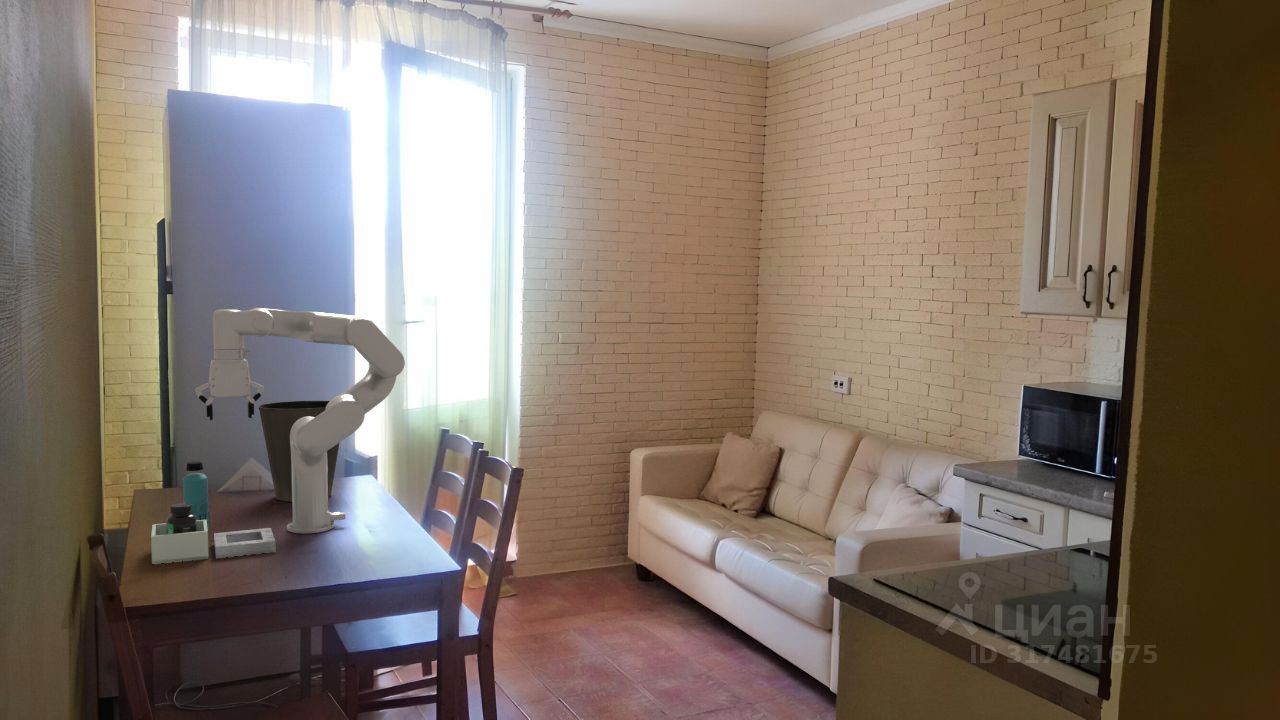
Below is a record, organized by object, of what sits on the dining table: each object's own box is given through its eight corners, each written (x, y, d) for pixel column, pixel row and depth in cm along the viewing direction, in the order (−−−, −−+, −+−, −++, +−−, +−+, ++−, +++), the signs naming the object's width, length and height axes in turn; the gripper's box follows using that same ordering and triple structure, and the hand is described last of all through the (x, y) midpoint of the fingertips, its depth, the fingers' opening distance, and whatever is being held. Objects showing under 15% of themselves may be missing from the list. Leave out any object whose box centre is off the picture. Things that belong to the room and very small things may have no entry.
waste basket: (338, 486, 322) (337, 398, 319) (356, 498, 305) (354, 405, 302) (254, 494, 307) (252, 402, 305) (267, 508, 290) (265, 410, 288)
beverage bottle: (199, 537, 257) (197, 464, 255) (178, 536, 258) (176, 463, 256) (215, 531, 263) (213, 460, 261) (194, 530, 264) (192, 459, 263)
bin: (207, 545, 249) (206, 519, 249) (208, 558, 238) (207, 531, 237) (153, 551, 244) (152, 524, 243) (152, 564, 233) (151, 536, 232)
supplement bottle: (169, 556, 237) (167, 509, 236) (165, 550, 242) (164, 503, 241) (199, 552, 240) (197, 506, 239) (194, 546, 246) (193, 500, 245)
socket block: (270, 538, 257) (270, 527, 257) (275, 552, 244) (275, 541, 244) (214, 544, 251) (214, 533, 250) (216, 558, 238) (215, 547, 238)
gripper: (262, 353, 262) (264, 415, 263) (193, 355, 255) (195, 418, 256) (264, 355, 255) (266, 418, 257) (193, 357, 248) (195, 422, 249)
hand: (230, 418), depth 256 cm, fingers open, 9 cm apart
